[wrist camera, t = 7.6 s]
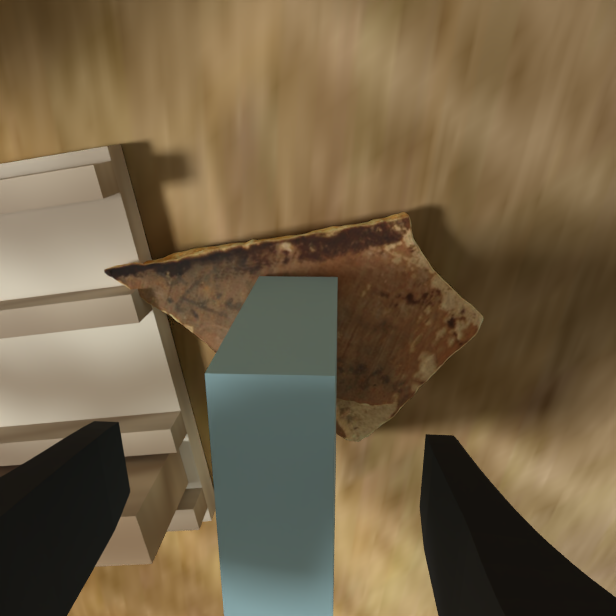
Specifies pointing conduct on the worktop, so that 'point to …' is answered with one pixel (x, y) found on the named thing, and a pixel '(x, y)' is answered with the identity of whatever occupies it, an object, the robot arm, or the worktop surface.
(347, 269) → the shard
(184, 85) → the worktop surface
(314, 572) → the teal panel
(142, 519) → the oak offcut
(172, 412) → the birch rack
